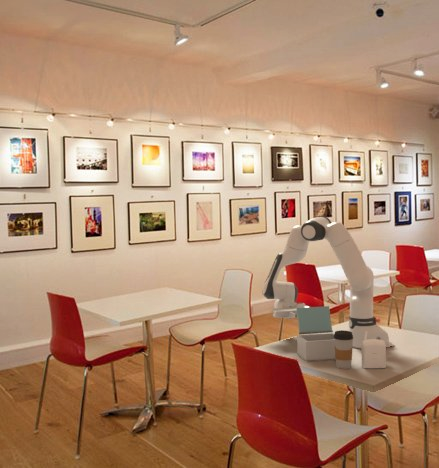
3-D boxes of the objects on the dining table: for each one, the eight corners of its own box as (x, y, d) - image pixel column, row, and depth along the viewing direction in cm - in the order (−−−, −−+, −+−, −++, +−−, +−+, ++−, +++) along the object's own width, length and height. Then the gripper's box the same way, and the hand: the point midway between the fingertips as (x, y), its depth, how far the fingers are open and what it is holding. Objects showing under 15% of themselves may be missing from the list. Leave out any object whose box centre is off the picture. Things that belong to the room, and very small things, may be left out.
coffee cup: (353, 370, 227) (353, 335, 226) (333, 369, 228) (333, 334, 227) (353, 364, 235) (352, 330, 234) (333, 363, 236) (333, 329, 235)
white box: (333, 351, 254) (333, 332, 254) (343, 358, 242) (343, 339, 242) (297, 353, 251) (297, 335, 251) (305, 361, 239) (305, 341, 239)
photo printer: (362, 369, 228) (362, 340, 227) (360, 365, 232) (360, 337, 231) (387, 369, 227) (387, 340, 226) (384, 365, 231) (384, 337, 230)
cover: (332, 332, 252) (332, 332, 253) (329, 306, 256) (328, 306, 257) (299, 334, 250) (299, 334, 251) (296, 308, 253) (295, 308, 254)
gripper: (269, 305, 277) (276, 310, 263) (307, 303, 280) (316, 308, 266) (269, 317, 277) (276, 323, 263) (307, 314, 280) (316, 320, 267)
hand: (297, 315), depth 265 cm, fingers closed
